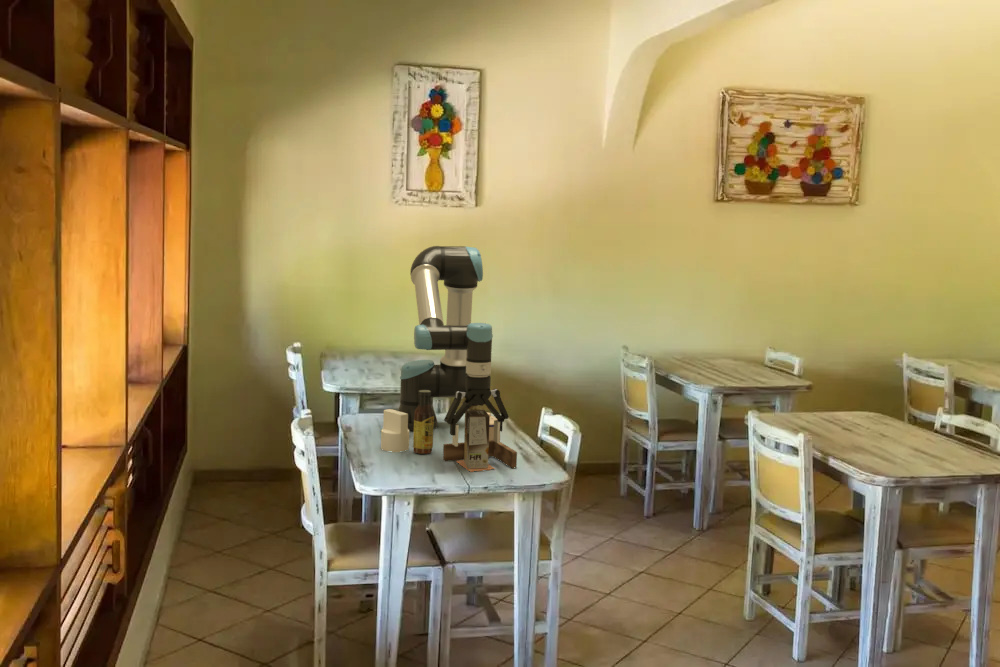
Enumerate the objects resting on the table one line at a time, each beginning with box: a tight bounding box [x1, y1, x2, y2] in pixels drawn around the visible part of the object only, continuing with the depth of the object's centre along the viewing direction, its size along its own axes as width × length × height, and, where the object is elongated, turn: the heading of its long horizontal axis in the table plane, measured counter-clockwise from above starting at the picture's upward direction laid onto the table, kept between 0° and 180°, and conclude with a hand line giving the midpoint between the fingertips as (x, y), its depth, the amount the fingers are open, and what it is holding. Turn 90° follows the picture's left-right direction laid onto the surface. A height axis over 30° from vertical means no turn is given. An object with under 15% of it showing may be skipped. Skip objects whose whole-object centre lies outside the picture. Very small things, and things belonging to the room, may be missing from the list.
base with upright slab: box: [380, 408, 410, 453], centre depth 285 cm, size 9×9×12 cm
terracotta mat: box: [455, 459, 496, 473], centre depth 270 cm, size 11×8×1 cm
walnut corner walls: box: [442, 440, 518, 469], centre depth 271 cm, size 15×18×5 cm
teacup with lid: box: [486, 412, 501, 442], centre depth 291 cm, size 12×9×12 cm
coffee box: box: [463, 409, 490, 469], centre depth 268 cm, size 9×6×16 cm
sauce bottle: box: [412, 390, 434, 455], centre depth 281 cm, size 6×6×20 cm
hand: (475, 443), depth 269 cm, fingers open, 13 cm apart
